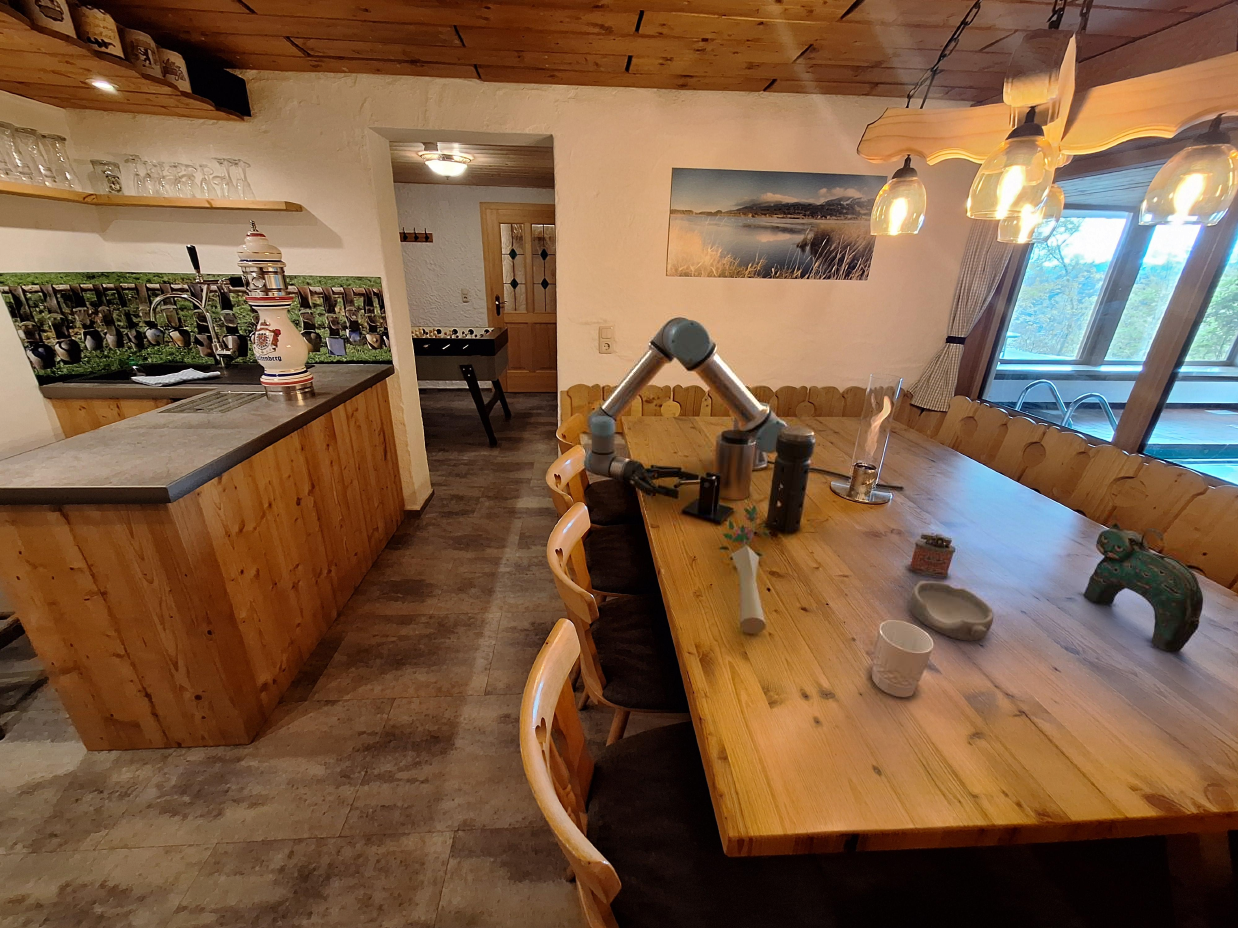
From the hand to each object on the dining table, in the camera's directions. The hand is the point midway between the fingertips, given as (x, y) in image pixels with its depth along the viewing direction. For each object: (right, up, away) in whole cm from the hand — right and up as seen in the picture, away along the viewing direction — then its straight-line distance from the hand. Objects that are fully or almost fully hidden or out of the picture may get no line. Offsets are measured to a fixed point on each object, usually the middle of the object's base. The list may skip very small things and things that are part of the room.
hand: (688, 486), depth 145 cm
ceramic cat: (+85, -26, -44) cm, 99 cm away
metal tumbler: (+15, -2, +13) cm, 20 cm away
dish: (+47, -25, -44) cm, 69 cm away
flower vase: (+8, -21, -34) cm, 41 cm away
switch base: (+6, -8, -1) cm, 9 cm away
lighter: (+53, -19, -28) cm, 63 cm away
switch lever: (+2, 0, -2) cm, 3 cm away
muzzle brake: (+25, -11, -8) cm, 29 cm away
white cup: (+27, -31, -60) cm, 73 cm away
